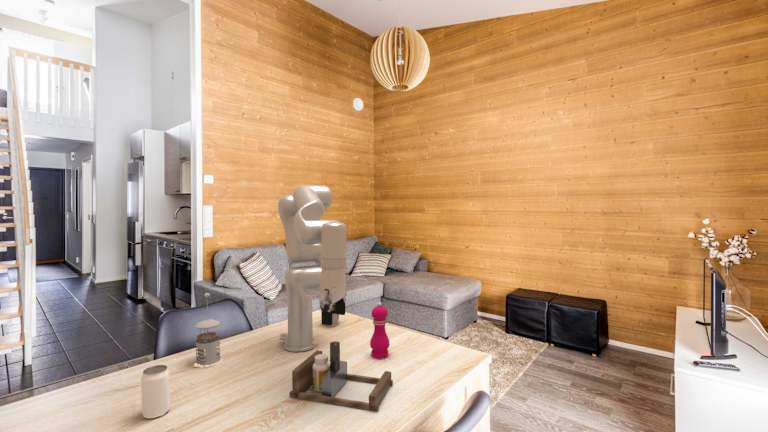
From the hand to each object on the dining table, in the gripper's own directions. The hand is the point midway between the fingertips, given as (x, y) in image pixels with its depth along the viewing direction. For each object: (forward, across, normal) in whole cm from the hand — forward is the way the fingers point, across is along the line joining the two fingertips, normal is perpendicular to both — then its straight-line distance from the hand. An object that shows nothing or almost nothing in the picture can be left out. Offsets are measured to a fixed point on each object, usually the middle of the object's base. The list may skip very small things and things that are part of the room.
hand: (333, 319), depth 113 cm
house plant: (+23, -54, -27) cm, 65 cm away
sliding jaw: (+21, +1, +1) cm, 21 cm away
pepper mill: (+22, -27, +6) cm, 36 cm away
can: (+22, +26, -41) cm, 53 cm away
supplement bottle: (+22, +1, -4) cm, 22 cm away
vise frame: (+21, +1, +3) cm, 22 cm away
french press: (+23, -5, -52) cm, 57 cm away
